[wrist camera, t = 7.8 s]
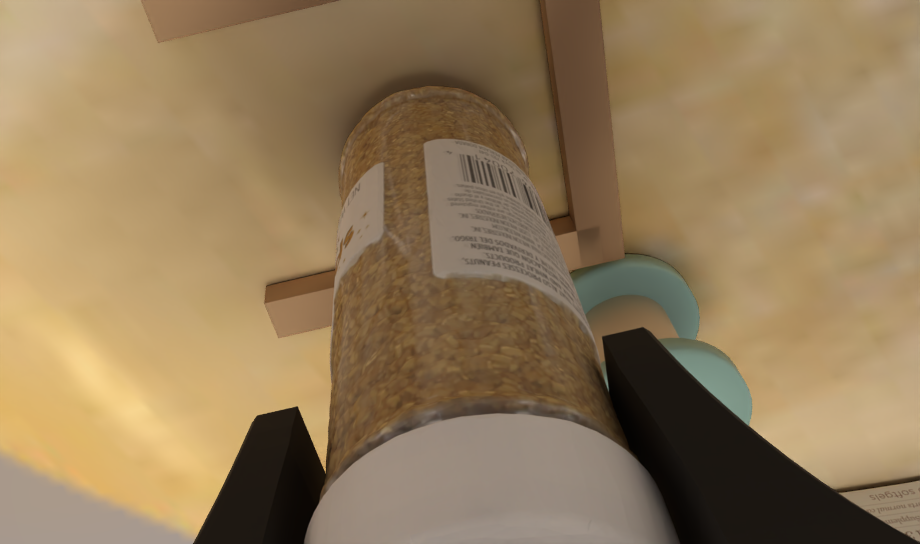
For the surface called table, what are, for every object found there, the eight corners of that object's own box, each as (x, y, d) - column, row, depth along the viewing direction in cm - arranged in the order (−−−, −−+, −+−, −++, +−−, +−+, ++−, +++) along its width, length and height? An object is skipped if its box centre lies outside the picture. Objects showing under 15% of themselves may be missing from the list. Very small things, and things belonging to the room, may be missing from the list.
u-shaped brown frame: (578, -126, 19) (587, -118, 18) (617, 242, 24) (625, 257, 23) (142, -24, 19) (135, -13, 18) (279, 320, 24) (278, 338, 24)
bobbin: (687, 237, 24) (752, 337, 21) (693, 360, 27) (752, 467, 23) (527, 274, 24) (562, 381, 21) (549, 393, 27) (584, 506, 23)
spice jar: (300, 148, 20) (196, 665, 9) (465, 40, 19) (594, 464, 8) (409, 285, 22) (443, 845, 11) (563, 194, 21) (778, 705, 10)
